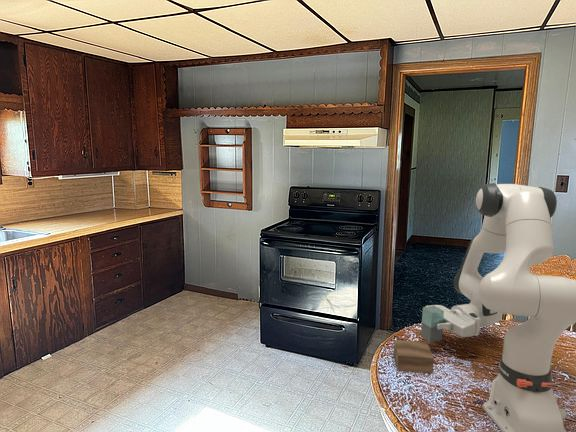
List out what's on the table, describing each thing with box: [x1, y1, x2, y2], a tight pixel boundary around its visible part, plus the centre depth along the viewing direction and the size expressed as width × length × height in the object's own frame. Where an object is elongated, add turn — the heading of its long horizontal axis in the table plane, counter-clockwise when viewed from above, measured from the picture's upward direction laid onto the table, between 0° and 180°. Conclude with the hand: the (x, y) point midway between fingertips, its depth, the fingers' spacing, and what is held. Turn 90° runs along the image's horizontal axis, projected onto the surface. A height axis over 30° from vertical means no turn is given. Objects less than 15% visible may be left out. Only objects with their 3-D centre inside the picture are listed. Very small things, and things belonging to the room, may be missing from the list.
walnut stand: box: [393, 339, 435, 374], centre depth 135 cm, size 11×11×5 cm
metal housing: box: [420, 305, 444, 343], centre depth 144 cm, size 5×5×11 cm
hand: (430, 322), depth 143 cm, fingers closed on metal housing, 5 cm apart
